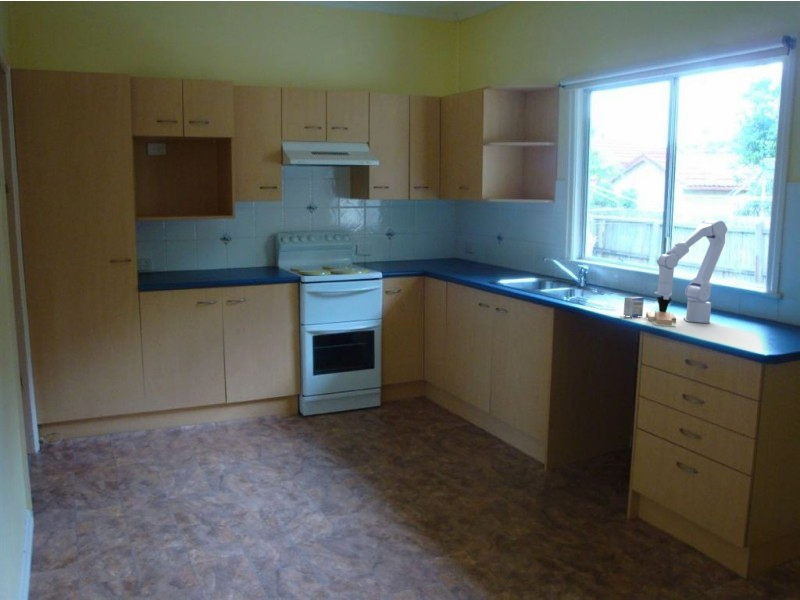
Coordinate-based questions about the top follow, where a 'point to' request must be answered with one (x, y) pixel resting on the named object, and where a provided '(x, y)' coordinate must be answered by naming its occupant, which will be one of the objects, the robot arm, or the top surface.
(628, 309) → the medicine box
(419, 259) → the top surface
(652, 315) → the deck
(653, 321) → the mat
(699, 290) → the robot arm
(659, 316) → the salmon pink flat block
